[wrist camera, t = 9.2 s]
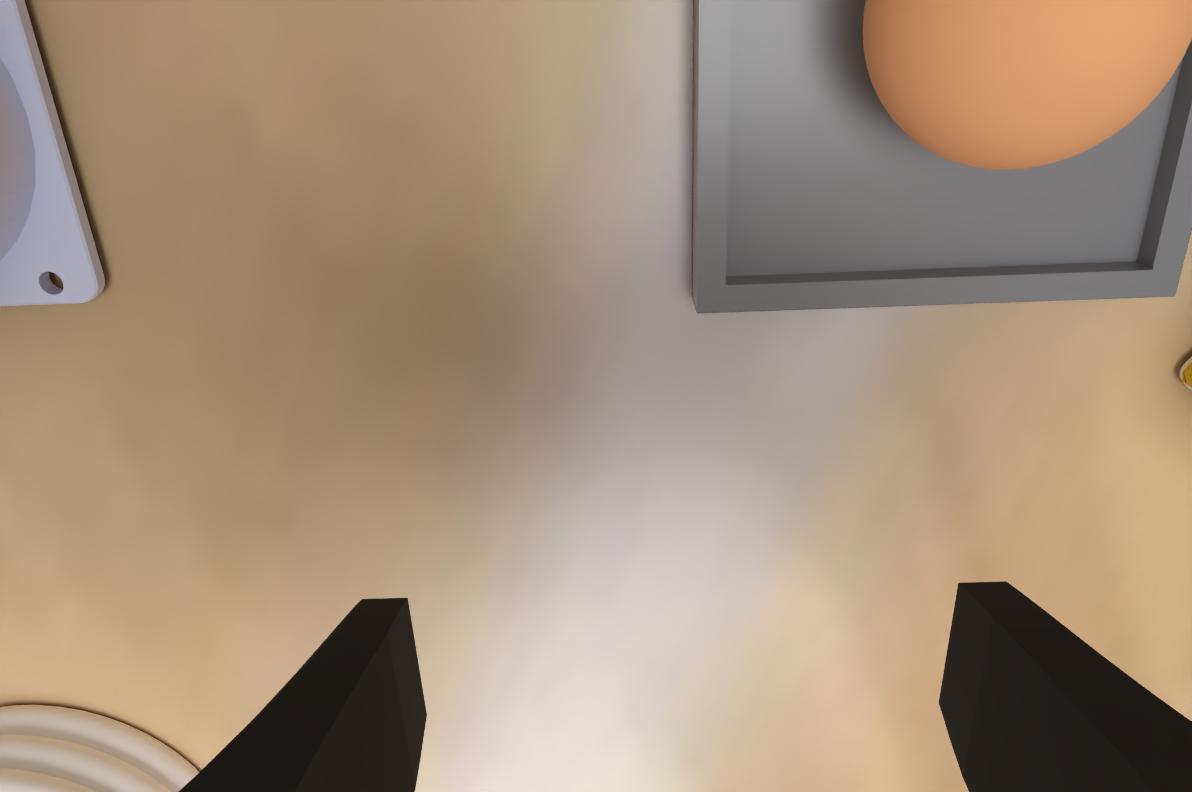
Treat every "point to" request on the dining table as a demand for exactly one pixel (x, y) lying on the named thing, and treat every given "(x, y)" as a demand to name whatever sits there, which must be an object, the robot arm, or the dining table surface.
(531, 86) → the dining table surface
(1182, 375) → the medicine bottle
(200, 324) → the dining table surface
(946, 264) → the tray
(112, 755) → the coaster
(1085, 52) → the ball
